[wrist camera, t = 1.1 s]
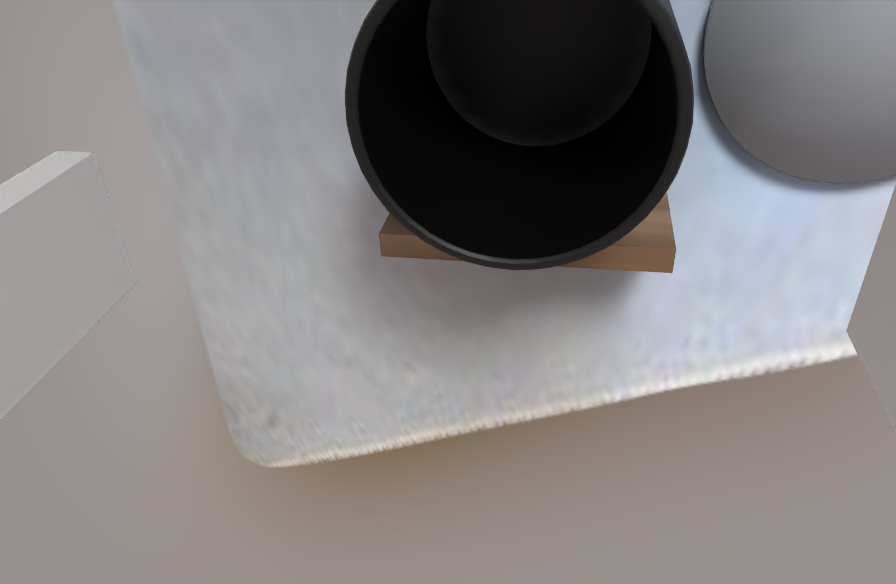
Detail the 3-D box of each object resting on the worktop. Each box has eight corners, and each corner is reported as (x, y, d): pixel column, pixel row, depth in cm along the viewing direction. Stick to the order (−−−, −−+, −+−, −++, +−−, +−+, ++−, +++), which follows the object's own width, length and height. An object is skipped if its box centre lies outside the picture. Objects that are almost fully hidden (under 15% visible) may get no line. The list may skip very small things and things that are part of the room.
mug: (693, -214, 21) (740, -224, 14) (655, 155, 28) (673, 279, 21) (393, -189, 23) (296, -188, 16) (424, 153, 30) (366, 266, 23)
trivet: (733, -154, 22) (736, -153, 22) (1138, -171, 20) (1151, -170, 20) (682, 171, 28) (684, 177, 28) (989, 181, 26) (996, 188, 26)
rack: (365, -290, 22) (318, -310, 18) (740, -320, 20) (771, -349, 16) (407, 204, 31) (381, 255, 28) (663, 215, 29) (672, 272, 26)
